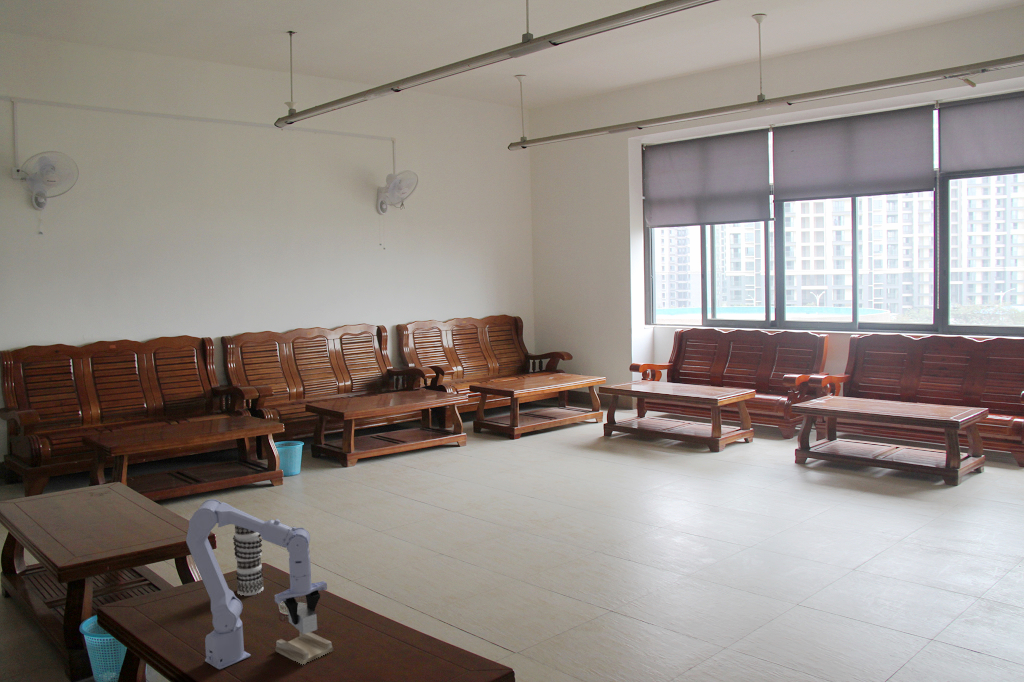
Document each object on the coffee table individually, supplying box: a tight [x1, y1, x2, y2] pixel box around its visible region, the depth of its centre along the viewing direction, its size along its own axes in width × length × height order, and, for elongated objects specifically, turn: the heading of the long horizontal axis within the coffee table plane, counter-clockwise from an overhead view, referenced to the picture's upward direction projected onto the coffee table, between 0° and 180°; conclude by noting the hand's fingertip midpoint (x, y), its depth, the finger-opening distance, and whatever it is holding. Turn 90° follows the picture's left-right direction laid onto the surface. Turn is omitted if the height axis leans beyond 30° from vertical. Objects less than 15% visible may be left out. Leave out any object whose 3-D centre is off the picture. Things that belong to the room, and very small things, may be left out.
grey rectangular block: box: [287, 602, 318, 634], centre depth 218 cm, size 4×10×4 cm, turn 39°
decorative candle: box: [232, 525, 264, 597], centre depth 261 cm, size 9×9×25 cm
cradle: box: [274, 630, 334, 666], centre depth 218 cm, size 10×13×3 cm
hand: (302, 620), depth 218 cm, fingers closed on grey rectangular block, 4 cm apart
